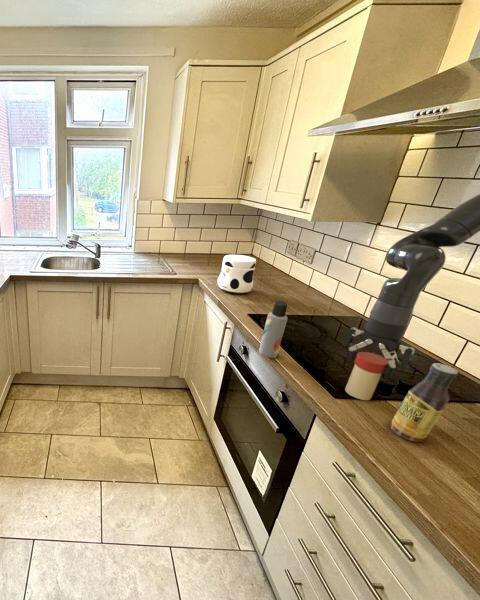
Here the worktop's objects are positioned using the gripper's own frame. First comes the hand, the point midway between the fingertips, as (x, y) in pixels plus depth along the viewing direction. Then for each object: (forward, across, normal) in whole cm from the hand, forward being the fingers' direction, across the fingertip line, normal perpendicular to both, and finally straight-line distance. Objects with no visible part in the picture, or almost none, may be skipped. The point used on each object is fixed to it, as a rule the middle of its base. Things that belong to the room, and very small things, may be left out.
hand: (367, 369), depth 89 cm
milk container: (+8, +75, -41) cm, 86 cm away
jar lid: (-4, 0, 0) cm, 4 cm away
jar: (+8, 0, 0) cm, 8 cm away
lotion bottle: (+8, +25, +4) cm, 27 cm away
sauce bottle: (+8, -14, +8) cm, 18 cm away
